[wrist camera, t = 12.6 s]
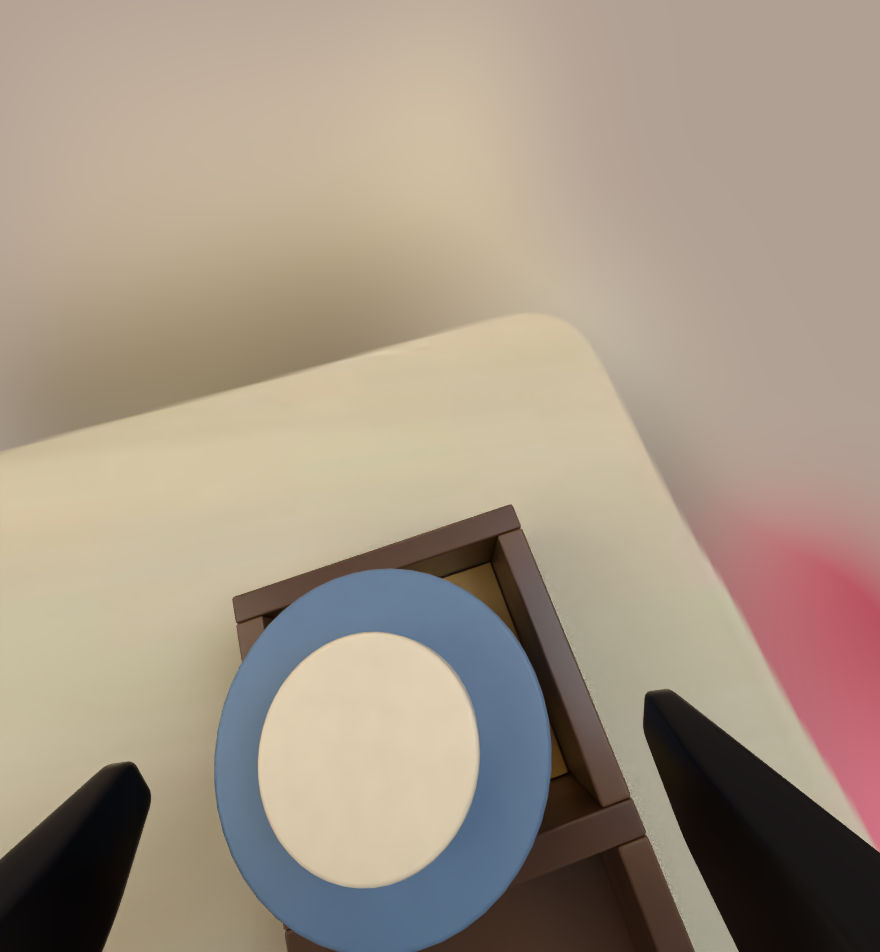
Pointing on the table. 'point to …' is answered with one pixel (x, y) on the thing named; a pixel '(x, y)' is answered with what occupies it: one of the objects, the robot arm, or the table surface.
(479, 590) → the organizer
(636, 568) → the table surface
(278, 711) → the bottle
